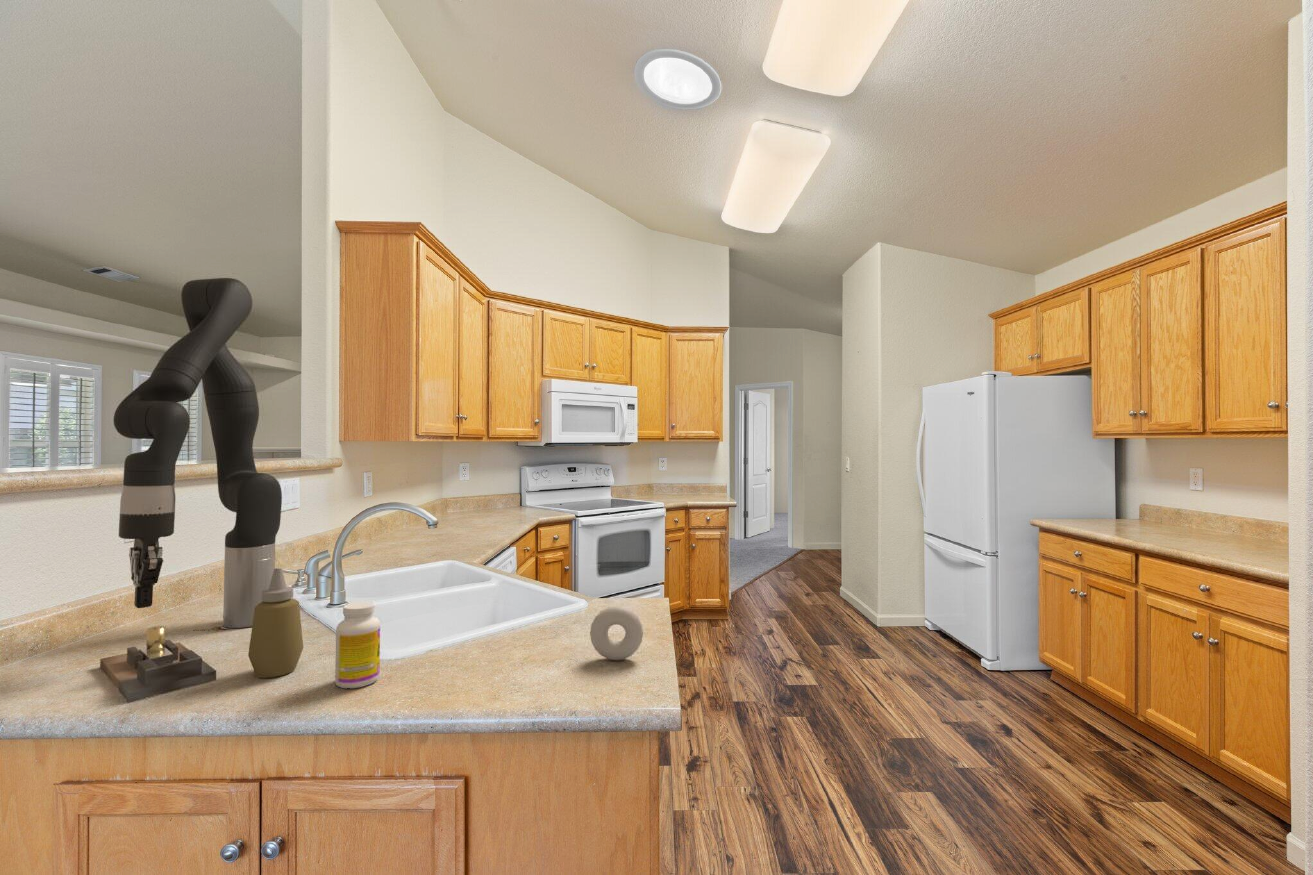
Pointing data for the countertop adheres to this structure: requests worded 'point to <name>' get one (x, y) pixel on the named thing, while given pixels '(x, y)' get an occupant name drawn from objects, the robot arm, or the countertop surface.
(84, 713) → the countertop surface
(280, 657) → the squeeze bottle
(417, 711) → the countertop surface
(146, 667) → the door board
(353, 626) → the supplement bottle
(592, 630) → the donut
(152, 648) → the lock bolt
